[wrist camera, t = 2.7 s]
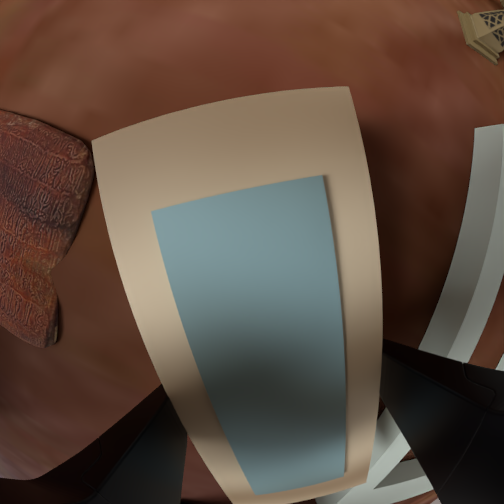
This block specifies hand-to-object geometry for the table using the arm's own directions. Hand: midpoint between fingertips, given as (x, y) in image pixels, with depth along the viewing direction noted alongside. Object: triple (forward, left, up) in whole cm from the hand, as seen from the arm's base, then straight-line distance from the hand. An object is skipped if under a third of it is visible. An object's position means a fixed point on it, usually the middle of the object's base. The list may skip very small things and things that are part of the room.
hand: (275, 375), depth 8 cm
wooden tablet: (+3, +21, -3) cm, 22 cm away
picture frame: (0, 0, -2) cm, 2 cm away
